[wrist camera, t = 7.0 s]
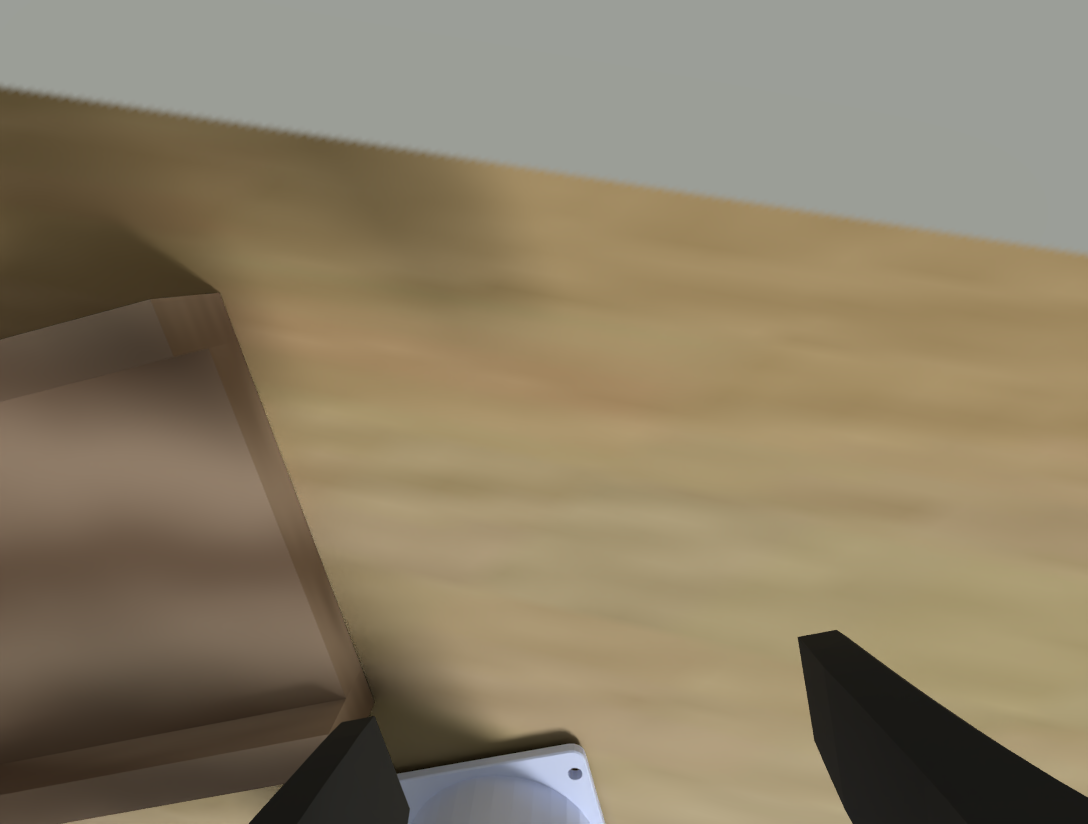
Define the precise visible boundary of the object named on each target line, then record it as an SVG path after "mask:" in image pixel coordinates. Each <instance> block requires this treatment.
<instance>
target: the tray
mask: <svg viewBox="0 0 1088 824" xmlns="http://www.w3.org/2000/svg"><path fill="white" fill-rule="evenodd" d="M374 703H375V702H374V699H373V696H372V694H371V691H370V688H369V686H368V683H367V681H366V678H365V675H364V673H363V670H362V667H361V665H360V662H359V659H358V657H357V654H356V652H355V649H354V646H353V644H352V641H351V638H350V636H349V633H348V630H347V628H346V625H345V623H344V620H343V617H342V615H341V612H340V609H339V607H338V604H337V601H336V599H335V596H334V594H333V591H332V588H331V586H330V583H329V580H328V578H327V575H326V572H325V570H324V567H323V565H322V562H321V559H320V557H319V554H318V551H317V549H316V546H315V543H314V541H313V538H312V536H311V533H310V530H309V528H308V525H307V522H306V520H305V517H304V514H303V512H302V509H301V507H300V504H299V501H298V499H297V496H296V493H295V491H294V488H293V485H292V483H291V480H290V478H289V475H288V472H287V470H286V467H285V464H284V462H283V459H282V456H281V454H280V451H279V449H278V446H277V443H276V441H275V438H274V435H273V433H272V430H271V427H270V425H269V422H268V420H267V417H266V414H265V412H264V409H263V406H262V404H261V401H260V398H259V396H258V393H257V391H256V388H255V385H254V383H253V380H252V377H251V375H250V372H249V369H248V367H247V364H246V362H245V359H244V356H243V354H242V351H241V348H240V346H239V343H238V340H237V338H236V335H235V333H234V330H233V327H232V325H231V322H230V319H229V317H228V314H227V311H226V309H225V306H224V304H223V301H222V298H221V296H220V293H210V294H200V295H189V296H178V297H168V298H157V299H149V300H145V301H141V302H138V303H134V304H130V305H127V306H123V307H119V308H115V309H112V310H108V311H104V312H101V313H97V314H93V315H89V316H86V317H82V318H78V319H75V320H71V321H67V322H63V323H60V324H56V325H52V326H49V327H45V328H41V329H38V330H34V331H30V332H26V333H23V334H19V335H15V336H12V337H8V338H4V339H0V824H61V823H67V822H72V821H78V820H84V819H89V818H95V817H100V816H106V815H112V814H117V813H123V812H129V811H134V810H140V809H146V808H151V807H157V806H162V805H168V804H174V803H179V802H185V801H191V800H196V799H202V798H207V797H213V796H219V795H224V794H230V793H236V792H241V791H247V790H253V789H258V788H264V787H269V786H275V785H281V784H285V783H286V782H287V781H288V779H289V778H290V777H291V776H292V775H293V774H294V773H295V772H296V771H297V769H298V768H299V767H300V766H301V765H302V764H303V763H304V762H305V760H306V759H307V758H308V757H309V756H310V755H311V754H312V753H313V752H314V751H315V749H316V748H317V747H318V746H319V745H320V744H321V743H322V742H323V741H324V740H325V739H326V738H327V736H328V735H329V734H330V733H331V732H332V731H333V730H334V729H335V728H336V727H337V726H338V725H339V724H340V723H341V722H345V721H351V720H356V719H361V718H367V717H369V714H370V712H371V710H372V707H373V705H374Z"/></svg>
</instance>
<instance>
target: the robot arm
mask: <svg viewBox="0 0 1088 824" xmlns="http://www.w3.org/2000/svg"><path fill="white" fill-rule="evenodd" d="M798 642H799V648H800V654H801V661H802V667H803V673H804V679H805V685H806V691H807V698H808V704H809V710H810V716H811V722H812V728H813V735H814V741H815V743H816V745H817V747H818V750H819V752H820V754H821V757H822V759H823V761H824V764H825V766H826V768H827V770H828V773H829V775H830V777H831V780H832V782H833V784H834V786H835V788H836V791H837V793H838V795H839V797H840V800H841V802H842V804H843V806H844V808H845V810H846V812H847V814H848V816H849V818H850V819H851V821H852V823H853V824H1088V797H1086V796H1084V795H1082V794H1081V793H1079V792H1077V791H1076V790H1074V789H1072V788H1070V787H1069V786H1067V785H1065V784H1064V783H1062V782H1060V781H1058V780H1057V779H1055V778H1053V777H1052V776H1050V775H1048V774H1047V773H1045V772H1044V771H1042V770H1040V769H1039V768H1037V767H1036V766H1034V765H1032V764H1031V763H1029V762H1028V761H1026V760H1024V759H1023V758H1021V757H1019V756H1018V755H1016V754H1015V753H1013V752H1011V751H1010V750H1008V749H1007V748H1005V747H1003V746H1002V745H1000V744H999V743H997V742H996V741H994V740H993V739H991V738H990V737H988V736H987V735H985V734H983V733H982V732H980V731H979V730H977V729H976V728H974V727H973V726H971V725H970V724H968V723H967V722H966V721H964V720H963V719H961V718H960V717H958V716H957V715H955V714H954V713H952V712H951V711H949V710H948V709H946V708H945V707H943V706H942V705H940V704H939V703H937V702H936V701H935V700H933V699H932V698H930V697H929V696H927V695H926V694H925V693H923V692H922V691H920V690H919V689H917V688H916V687H915V686H913V685H912V684H910V683H909V682H908V681H906V680H905V679H903V678H902V677H901V676H899V675H898V674H897V673H895V672H894V671H892V670H891V669H890V668H888V667H887V666H886V665H884V664H883V663H881V662H880V661H879V660H877V659H876V658H875V657H873V656H872V655H871V654H869V653H868V652H867V651H865V650H864V649H863V648H861V647H860V646H859V645H857V644H856V643H854V642H853V641H852V640H850V639H849V638H848V637H846V636H845V635H843V634H842V633H840V632H839V631H837V630H833V631H828V632H822V633H817V634H812V635H806V636H801V637H798ZM572 768H578V769H579V770H571V769H572ZM249 824H605V821H604V817H603V814H602V810H601V807H600V803H599V800H598V796H597V792H596V789H595V785H594V782H593V778H592V775H591V771H590V767H589V764H588V760H587V757H586V753H585V751H584V749H583V748H582V747H581V746H579V745H577V744H564V745H558V746H553V747H547V748H541V749H535V750H530V751H524V752H518V753H513V754H507V755H501V756H496V757H490V758H484V759H479V760H473V761H467V762H462V763H456V764H450V765H444V766H439V767H433V768H427V769H422V770H416V771H410V772H405V773H399V774H396V771H395V768H394V766H393V763H392V761H391V758H390V755H389V753H388V750H387V748H386V745H385V742H384V740H383V737H382V734H381V732H380V729H379V727H378V724H377V721H376V719H375V716H372V717H367V718H361V719H356V720H351V721H345V722H341V723H340V724H339V725H338V726H337V727H336V728H335V729H334V730H333V731H332V732H331V733H330V734H329V735H328V736H327V738H326V739H325V740H324V741H323V742H322V743H321V744H320V745H319V746H318V747H317V748H316V749H315V751H314V752H313V753H312V754H311V755H310V756H309V757H308V758H307V759H306V760H305V762H304V763H303V764H302V765H301V766H300V767H299V768H298V769H297V771H296V772H295V773H294V774H293V775H292V776H291V777H290V778H289V779H288V781H287V782H286V783H285V784H284V785H283V786H282V787H281V788H280V790H279V791H278V792H277V793H276V794H275V795H274V796H273V797H272V798H271V799H270V801H269V802H268V803H267V804H266V805H265V806H264V807H263V808H262V809H261V811H260V812H259V813H258V814H257V815H256V816H255V817H254V818H253V819H252V820H251V822H250V823H249Z"/></svg>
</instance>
